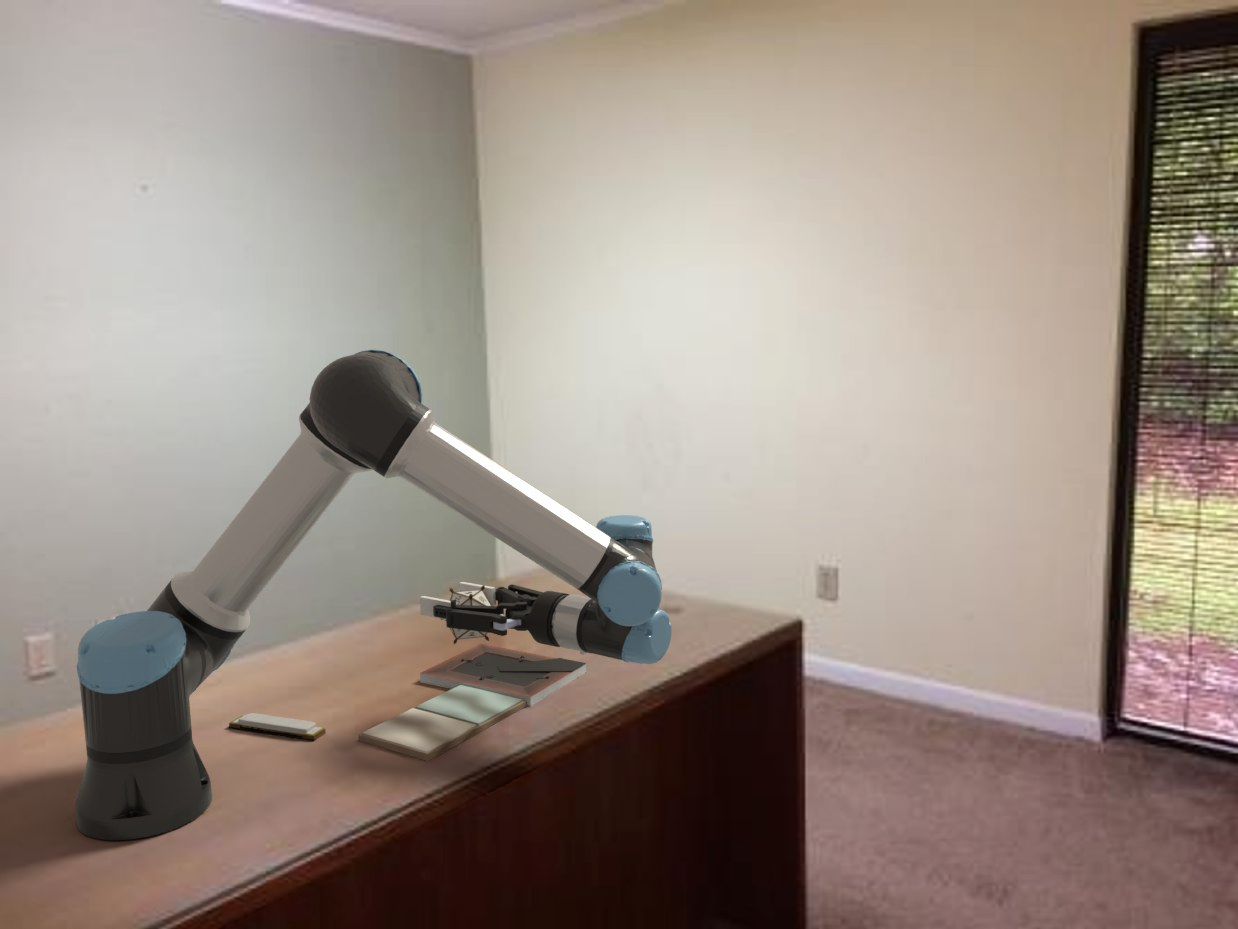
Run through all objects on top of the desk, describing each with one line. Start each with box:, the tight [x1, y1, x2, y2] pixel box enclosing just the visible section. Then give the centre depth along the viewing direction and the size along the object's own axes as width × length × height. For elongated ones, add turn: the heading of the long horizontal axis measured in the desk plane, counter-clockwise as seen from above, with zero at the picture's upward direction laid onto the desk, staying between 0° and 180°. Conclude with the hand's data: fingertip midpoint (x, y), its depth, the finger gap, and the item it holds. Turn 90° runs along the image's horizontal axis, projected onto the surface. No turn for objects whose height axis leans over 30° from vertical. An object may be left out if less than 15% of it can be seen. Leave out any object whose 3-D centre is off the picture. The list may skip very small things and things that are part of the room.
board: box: [358, 685, 527, 762], centre depth 152 cm, size 22×13×1 cm, turn 148°
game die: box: [438, 584, 492, 645], centre depth 155 cm, size 9×8×10 cm
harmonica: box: [228, 712, 326, 743], centre depth 150 cm, size 15×3×2 cm, turn 71°
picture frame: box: [419, 643, 587, 707], centre depth 170 cm, size 16×2×22 cm
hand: (442, 597), depth 157 cm, fingers closed on game die, 8 cm apart
